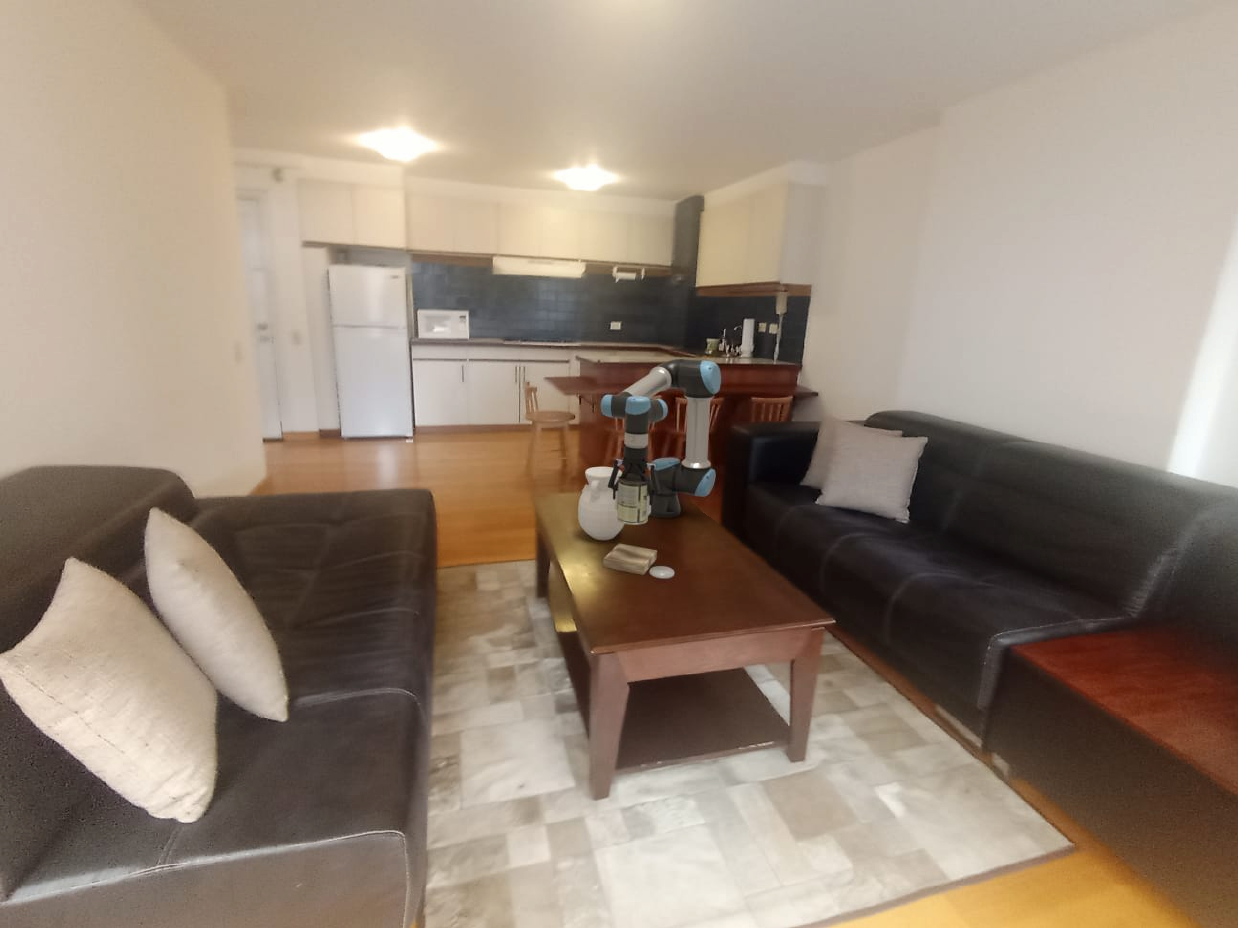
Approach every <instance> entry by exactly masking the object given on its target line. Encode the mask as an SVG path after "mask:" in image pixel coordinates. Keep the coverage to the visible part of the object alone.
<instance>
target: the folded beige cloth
mask: <svg viewBox="0 0 1238 928" xmlns="http://www.w3.org/2000/svg"><path fill="white" fill-rule="evenodd" d="M657 555H658V550H656V549H651V548H646V547H640V546H636V545H629V544H624V543H618V544H616V545H615V547H613V548H612V550H611V551H609V553H608V554H607V555H605V557H603V561H602V562H603V563H602V564H603V565H602V567H603V568H606V569H613V570H617V571H621V572H626V573H632V574H635V575H640V576H644V575H646V572H647V571H648V570H650V569H651V566H652V565H653V564H654V563H655V562H656V560H657V558H658V556H657Z"/></svg>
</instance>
